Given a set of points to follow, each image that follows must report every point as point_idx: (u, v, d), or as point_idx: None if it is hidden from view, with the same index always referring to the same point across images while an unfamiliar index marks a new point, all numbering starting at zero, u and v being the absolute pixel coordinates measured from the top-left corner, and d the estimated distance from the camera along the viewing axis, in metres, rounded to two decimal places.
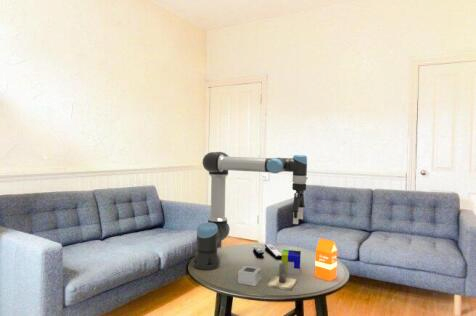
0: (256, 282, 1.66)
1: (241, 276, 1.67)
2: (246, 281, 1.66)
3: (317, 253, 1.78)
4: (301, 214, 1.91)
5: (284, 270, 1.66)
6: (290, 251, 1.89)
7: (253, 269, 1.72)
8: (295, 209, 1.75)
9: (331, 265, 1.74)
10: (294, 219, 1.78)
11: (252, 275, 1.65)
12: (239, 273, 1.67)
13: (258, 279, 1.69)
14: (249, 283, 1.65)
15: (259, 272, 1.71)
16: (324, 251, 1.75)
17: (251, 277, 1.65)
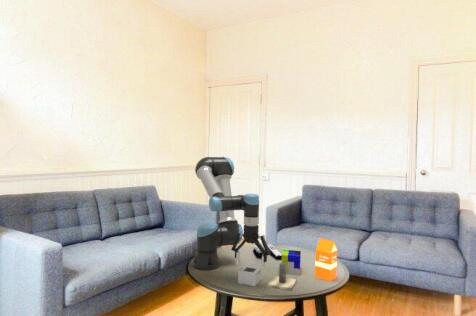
0: (256, 282, 1.66)
1: (241, 276, 1.67)
2: (246, 281, 1.66)
3: (317, 253, 1.78)
4: None
5: (284, 270, 1.66)
6: (290, 251, 1.89)
7: (253, 269, 1.72)
8: None
9: (331, 265, 1.74)
10: None
11: (252, 275, 1.65)
12: (239, 273, 1.67)
13: (258, 279, 1.69)
14: (249, 283, 1.65)
15: (259, 272, 1.71)
16: (324, 251, 1.75)
17: (251, 277, 1.65)
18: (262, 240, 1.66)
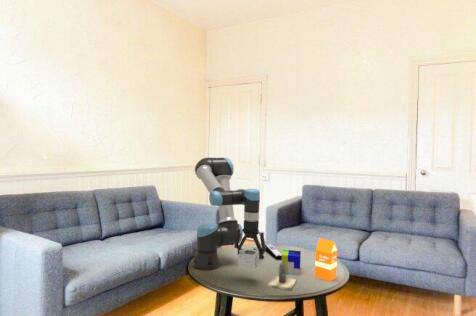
0: (256, 264, 1.66)
1: (241, 258, 1.67)
2: (246, 263, 1.66)
3: (317, 253, 1.78)
4: None
5: (284, 270, 1.66)
6: (290, 251, 1.89)
7: (253, 252, 1.72)
8: None
9: (331, 265, 1.74)
10: None
11: (252, 257, 1.65)
12: (239, 255, 1.67)
13: None
14: (249, 265, 1.66)
15: None
16: (324, 251, 1.75)
17: (251, 259, 1.65)
18: (261, 237, 1.66)
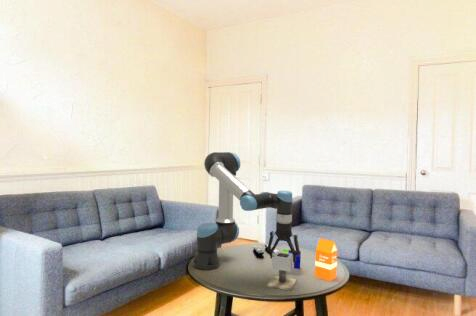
0: (290, 267, 1.64)
1: (275, 261, 1.64)
2: (280, 266, 1.63)
3: (317, 253, 1.78)
4: None
5: None
6: (290, 251, 1.89)
7: (286, 255, 1.70)
8: None
9: (331, 265, 1.74)
10: None
11: (286, 260, 1.62)
12: (273, 258, 1.65)
13: None
14: (283, 268, 1.63)
15: None
16: (324, 251, 1.75)
17: (285, 262, 1.62)
18: (295, 239, 1.64)
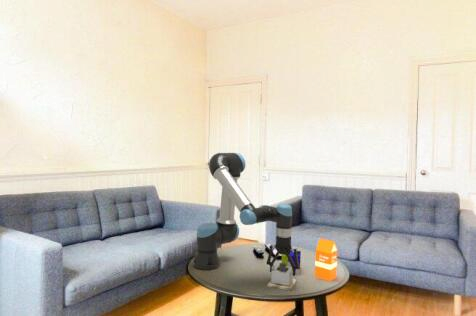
0: (290, 281, 1.64)
1: (274, 275, 1.65)
2: (280, 280, 1.64)
3: (317, 253, 1.78)
4: (291, 276, 1.66)
5: (284, 270, 1.66)
6: (290, 251, 1.89)
7: None
8: None
9: (331, 265, 1.74)
10: None
11: (286, 274, 1.63)
12: (272, 272, 1.65)
13: None
14: (283, 282, 1.63)
15: None
16: (324, 251, 1.75)
17: (285, 276, 1.63)
18: (294, 253, 1.64)
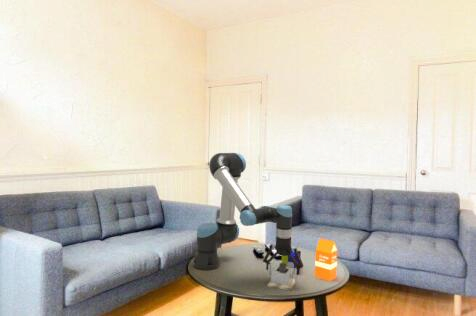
0: (290, 282, 1.64)
1: (274, 276, 1.65)
2: (279, 281, 1.64)
3: (317, 253, 1.78)
4: (295, 275, 1.65)
5: (284, 270, 1.66)
6: None
7: None
8: None
9: (331, 265, 1.74)
10: None
11: (286, 275, 1.63)
12: (272, 273, 1.65)
13: (291, 279, 1.67)
14: (283, 283, 1.63)
15: (292, 272, 1.69)
16: (324, 251, 1.75)
17: (285, 277, 1.63)
18: (295, 253, 1.64)
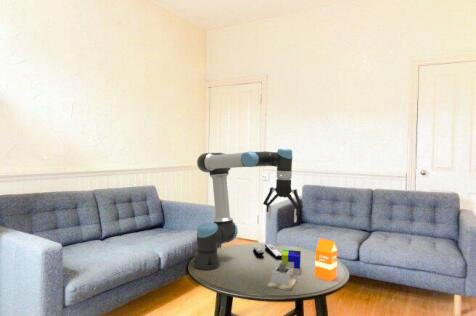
0: (290, 282, 1.64)
1: (274, 276, 1.65)
2: (279, 281, 1.64)
3: (317, 253, 1.78)
4: None
5: (284, 270, 1.66)
6: (290, 251, 1.89)
7: None
8: None
9: (331, 265, 1.74)
10: None
11: (286, 275, 1.63)
12: (272, 273, 1.65)
13: (291, 279, 1.67)
14: (283, 283, 1.63)
15: (292, 272, 1.69)
16: (324, 251, 1.75)
17: (285, 277, 1.63)
18: (295, 194, 1.68)
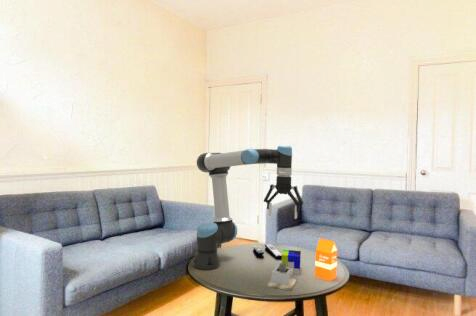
0: (290, 282, 1.64)
1: (274, 276, 1.65)
2: (279, 281, 1.64)
3: (317, 253, 1.78)
4: (295, 213, 1.69)
5: (284, 270, 1.66)
6: (290, 251, 1.89)
7: None
8: None
9: (331, 265, 1.74)
10: None
11: (286, 275, 1.63)
12: (272, 273, 1.65)
13: (291, 279, 1.67)
14: (283, 283, 1.63)
15: (292, 272, 1.69)
16: (324, 251, 1.75)
17: (285, 277, 1.63)
18: (295, 190, 1.68)
